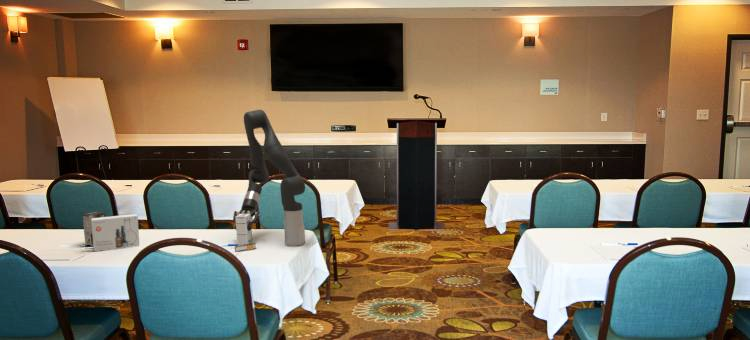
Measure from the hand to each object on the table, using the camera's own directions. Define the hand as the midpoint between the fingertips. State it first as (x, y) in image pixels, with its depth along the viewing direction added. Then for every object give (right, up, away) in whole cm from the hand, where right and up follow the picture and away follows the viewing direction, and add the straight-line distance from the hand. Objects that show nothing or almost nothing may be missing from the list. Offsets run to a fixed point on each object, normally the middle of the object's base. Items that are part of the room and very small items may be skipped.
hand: (242, 229), depth 299 cm
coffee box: (-77, -9, +9) cm, 78 cm away
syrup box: (+1, -7, +3) cm, 8 cm away
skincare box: (-62, -9, 0) cm, 63 cm away
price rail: (+4, -9, -11) cm, 14 cm away
